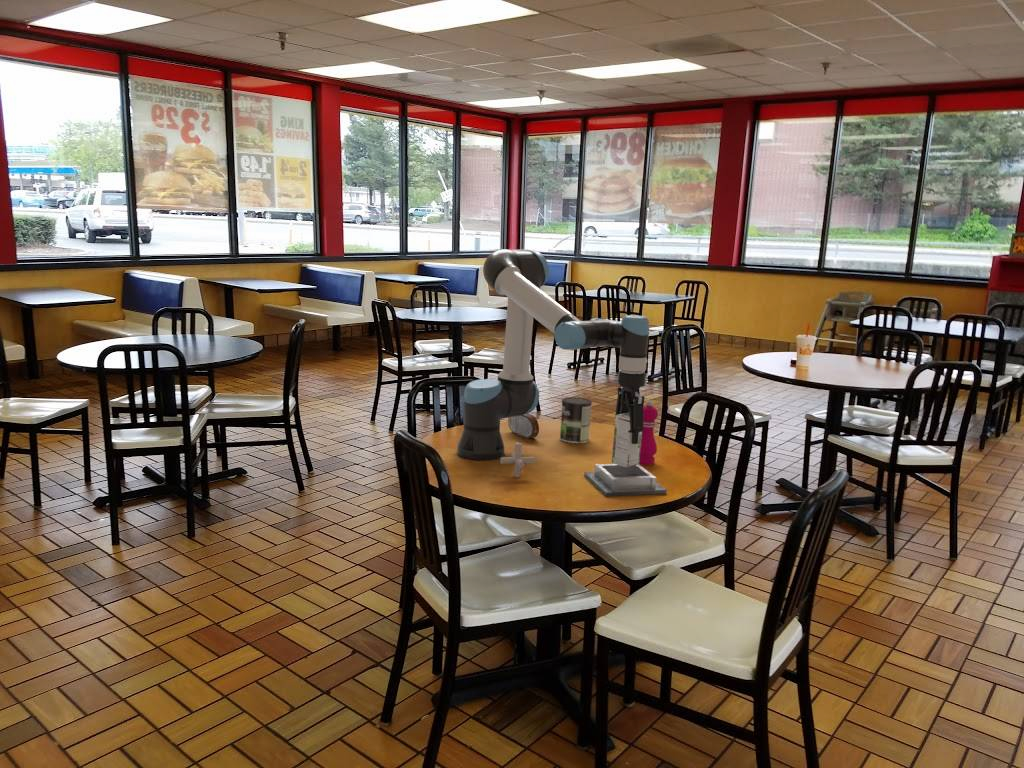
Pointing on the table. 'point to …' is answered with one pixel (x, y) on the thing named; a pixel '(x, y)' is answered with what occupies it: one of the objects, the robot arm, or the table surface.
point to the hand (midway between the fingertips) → (626, 450)
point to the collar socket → (624, 480)
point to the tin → (524, 425)
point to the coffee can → (575, 420)
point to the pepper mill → (648, 435)
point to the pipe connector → (517, 459)
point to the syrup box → (624, 442)
